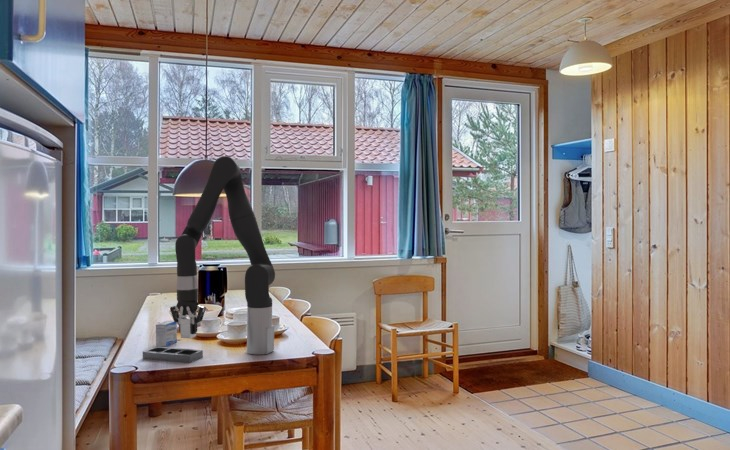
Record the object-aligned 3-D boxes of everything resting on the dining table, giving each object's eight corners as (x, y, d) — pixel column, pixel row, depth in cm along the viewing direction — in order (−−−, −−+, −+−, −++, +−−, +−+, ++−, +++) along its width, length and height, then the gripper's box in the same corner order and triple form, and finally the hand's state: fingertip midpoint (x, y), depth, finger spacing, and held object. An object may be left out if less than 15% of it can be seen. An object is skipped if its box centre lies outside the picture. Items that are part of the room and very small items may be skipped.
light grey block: (196, 335, 193) (195, 317, 193) (190, 338, 189) (189, 319, 189) (186, 335, 194) (186, 317, 194) (180, 338, 190) (180, 319, 190)
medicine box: (165, 347, 198) (165, 324, 198) (155, 346, 199) (155, 324, 199) (177, 342, 206) (177, 320, 206) (167, 341, 207) (167, 320, 207)
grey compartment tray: (202, 356, 185) (202, 350, 185) (189, 362, 177) (189, 356, 177) (156, 352, 190) (156, 346, 190) (142, 358, 182) (142, 351, 182)
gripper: (209, 286, 193) (210, 332, 194) (176, 286, 197) (177, 330, 197) (199, 289, 186) (200, 336, 186) (164, 288, 189) (165, 335, 190)
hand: (188, 333), depth 192 cm, fingers closed on light grey block, 4 cm apart
